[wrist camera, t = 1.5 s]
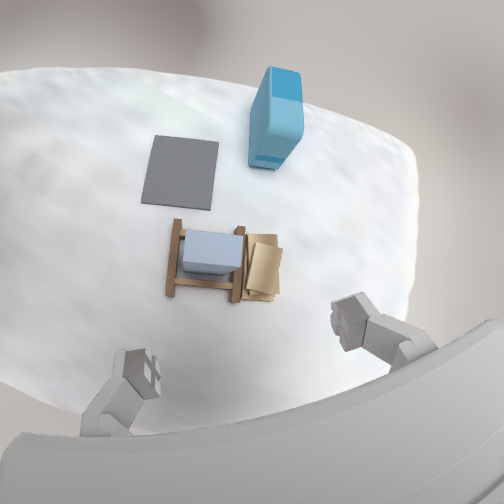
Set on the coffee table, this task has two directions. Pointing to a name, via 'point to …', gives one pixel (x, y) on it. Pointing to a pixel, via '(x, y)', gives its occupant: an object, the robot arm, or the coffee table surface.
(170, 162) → the felt mat
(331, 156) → the coffee table surface
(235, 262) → the pale blue pillar
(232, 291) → the rack
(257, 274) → the offcut stack
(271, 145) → the data package
